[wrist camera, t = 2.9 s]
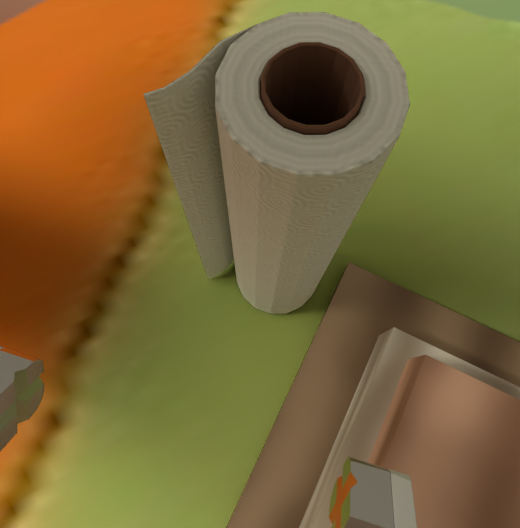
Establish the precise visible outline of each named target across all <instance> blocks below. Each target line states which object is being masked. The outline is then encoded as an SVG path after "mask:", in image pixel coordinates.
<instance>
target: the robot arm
mask: <svg viewBox="0 0 520 528" xmlns="http://www.w3.org/2000/svg"><path fill="white" fill-rule="evenodd" d="M43 371H44V368H43V361H41V360H40V359H37V358H34V357H31V356H28V355H25V354H23V353H20V352H17V351H14V350H11V349H8V348H4V347H2V346H0V451H1V450H2V449H3V448H4V447H5V446H6V445H7V443H8V442H9V441H10V440H11V439H12V438H13V437H14V435H15V434H16V433H17V424H18V423H20V422H23V421H25V420H28V419H29V418H30V417H31V416H32V415H33V413H34V412H35V411H36V410H37V408H38V406H39V404H40V402H41V400H42V397H43V392H44V383H43V382H42V380H41V379H40V377H39V376H40V374H41V373H42V372H43ZM329 519H330V520H331V522H332V524H333V525H332V527H331V528H417V522H416V514H415V506H414V498H413V490H412V482H411V478H410V477H409V475H406V474H403V473H400V472H397V471H393V470H390V469H387V468H384V467H381V466H378V465H374V464H371V463H368V462H364V461H361V460H358V459H355V458H351V457H348V458H347V459H346V461H345V463H344V465H343V476H341V477H339V478H337V480H336V483H335V485H334V488H333V492H332V495H331V500H330V507H329Z"/></svg>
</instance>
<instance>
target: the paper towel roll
mask: <svg viewBox="0 0 520 528" xmlns="http://www.w3.org/2000/svg"><path fill="white" fill-rule="evenodd" d="M144 97H145V100H146V103H147V106H148V109H149V111H150V114H151V117H152V120H153V123H154V126H155V129H156V131H157V134H158V137H159V140H160V143H161V146H162V149H163V151H164V154H165V157H166V160H167V163H168V166H169V169H170V171H171V174H172V177H173V180H174V183H175V186H176V189H177V191H178V194H179V197H180V200H181V203H182V206H183V209H184V211H185V214H186V217H187V220H188V223H189V226H190V229H191V231H192V234H193V237H194V240H195V243H196V246H197V249H198V251H199V254H200V257H201V260H202V263H203V266H204V269H205V271H206V274H207V277H208V279H210V278H213V277H216V276H217V275H219V274H220V273H221V272H223V271H224V270H225V269H227V268H228V267H229V265H230V264H231V263H232V262H233V261H234V263H235V271H236V279H237V284H238V286H239V288H240V291H241V293H242V295H243V297H244V298H245V299H246V300H247V301H248V302H249V303H250V304H251V305H252V306H253V307H254V308H256V309H259V310H261V311H264V312H267V313H269V314H286V313H289V312H291V311H293V310H296V309H298V308H300V307H302V306H303V305H304V304H305V302H306V301H307V300H308V299H309V298H310V297H311V296H312V295H313V293H314V291H315V289H316V287H317V285H318V284H319V282H320V280H321V278H322V276H323V275H324V273H325V271H326V269H327V267H328V265H329V264H330V262H331V260H332V258H333V256H334V254H335V253H336V251H337V249H338V247H339V245H340V244H341V242H342V240H343V238H344V236H345V234H346V233H347V231H348V229H349V227H350V225H351V223H352V222H353V220H354V218H355V216H356V214H357V213H358V211H359V209H360V207H361V205H362V203H363V202H364V200H365V198H366V196H367V194H368V192H369V191H370V189H371V187H372V185H373V183H374V181H375V180H376V178H377V176H378V174H379V172H380V171H381V169H382V167H383V165H384V163H385V161H386V160H387V158H388V156H389V154H390V152H391V150H392V149H393V147H394V145H395V143H396V141H397V140H398V138H399V135H400V132H401V129H402V126H403V123H404V121H405V118H406V115H407V112H408V109H409V106H410V102H409V95H408V88H407V81H406V74H405V71H404V69H403V67H402V66H401V64H400V63H399V61H398V60H397V58H396V57H395V55H394V53H393V52H392V50H391V49H390V47H389V46H388V44H387V43H386V42H384V41H383V40H382V39H380V38H379V37H377V36H376V35H375V34H373V33H372V32H371V31H369V30H368V29H367V28H365V27H364V26H362V25H361V24H360V23H357V22H354V21H351V20H348V19H345V18H342V17H338V16H335V15H332V14H329V13H326V12H289V13H286V14H283V15H281V16H278V17H275V18H273V19H270V20H267V21H264V22H262V23H259V24H256V25H254V26H252V27H250V28H248V29H245V30H243V31H241V32H239V33H237V34H234V35H232V36H230V37H228V38H226V39H223V40H221V41H220V42H219V43H218V44H217V45H216V46H215V47H214V48H213V49H212V50H211V51H210V52H209V53H208V54H207V55H206V56H205V57H204V58H203V59H202V60H201V61H200V62H199V63H198V64H197V65H196V66H195V67H193V68H192V69H191V70H190V71H189V72H188V73H186V74H184V75H183V76H181V77H180V78H178V79H176V80H175V81H173V82H172V83H170V84H169V85H167V86H165V87H164V88H161V89H158V90H154V91H151V92H148V93H145V94H144Z"/></svg>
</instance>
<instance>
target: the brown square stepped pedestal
mask: <svg viewBox="0 0 520 528" xmlns="http://www.w3.org/2000/svg"><path fill="white" fill-rule="evenodd" d="M348 457H351V458H355V459H358V460H361V461H364V462H368V463H371V464H374V465H378V466H381V467H384V468H387V469H390V470H393V471H397V472H400V473H403V474H406V475H409V477H410V478H411V482H412V490H413V498H414V506H415V514H416V522H417V528H520V342H518V341H516V340H514V339H512V338H510V337H508V336H505V335H503V334H501V333H499V332H497V331H495V330H493V329H490V328H488V327H486V326H484V325H482V324H480V323H478V322H475V321H473V320H471V319H469V318H467V317H465V316H463V315H461V314H458V313H456V312H454V311H452V310H450V309H448V308H446V307H443V306H441V305H439V304H437V303H435V302H433V301H431V300H428V299H426V298H424V297H422V296H420V295H418V294H416V293H414V292H411V291H409V290H407V289H405V288H403V287H401V286H399V285H396V284H394V283H392V282H390V281H388V280H386V279H384V278H381V277H379V276H377V275H375V274H373V273H371V272H369V271H366V270H364V269H362V268H360V267H358V266H356V265H354V264H352V263H349V264H348V265H347V266H346V269H345V271H344V273H343V275H342V277H341V279H340V282H339V284H338V286H337V288H336V290H335V293H334V295H333V297H332V299H331V301H330V303H329V306H328V308H327V310H326V312H325V314H324V316H323V319H322V321H321V323H320V325H319V327H318V329H317V332H316V334H315V336H314V338H313V340H312V342H311V345H310V347H309V349H308V351H307V353H306V355H305V358H304V360H303V362H302V364H301V366H300V369H299V371H298V373H297V375H296V377H295V379H294V382H293V384H292V386H291V388H290V390H289V392H288V395H287V397H286V399H285V401H284V403H283V405H282V408H281V410H280V412H279V414H278V416H277V418H276V421H275V423H274V425H273V427H272V429H271V431H270V434H269V436H268V438H267V440H266V442H265V445H264V447H263V449H262V451H261V453H260V455H259V458H258V460H257V462H256V464H255V466H254V468H253V471H252V473H251V475H250V477H249V479H248V481H247V484H246V486H245V488H244V490H243V492H242V494H241V497H240V499H239V501H238V503H237V505H236V507H235V510H234V512H233V514H232V516H231V518H230V520H229V523H228V525H227V527H226V528H331V527H332V525H333V524H332V522H331V520H330V519H329V507H330V500H331V495H332V492H333V488H334V485H335V483H336V480H337V478H339V477H341V476H343V465H344V463H345V461H346V459H347V458H348Z"/></svg>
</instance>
